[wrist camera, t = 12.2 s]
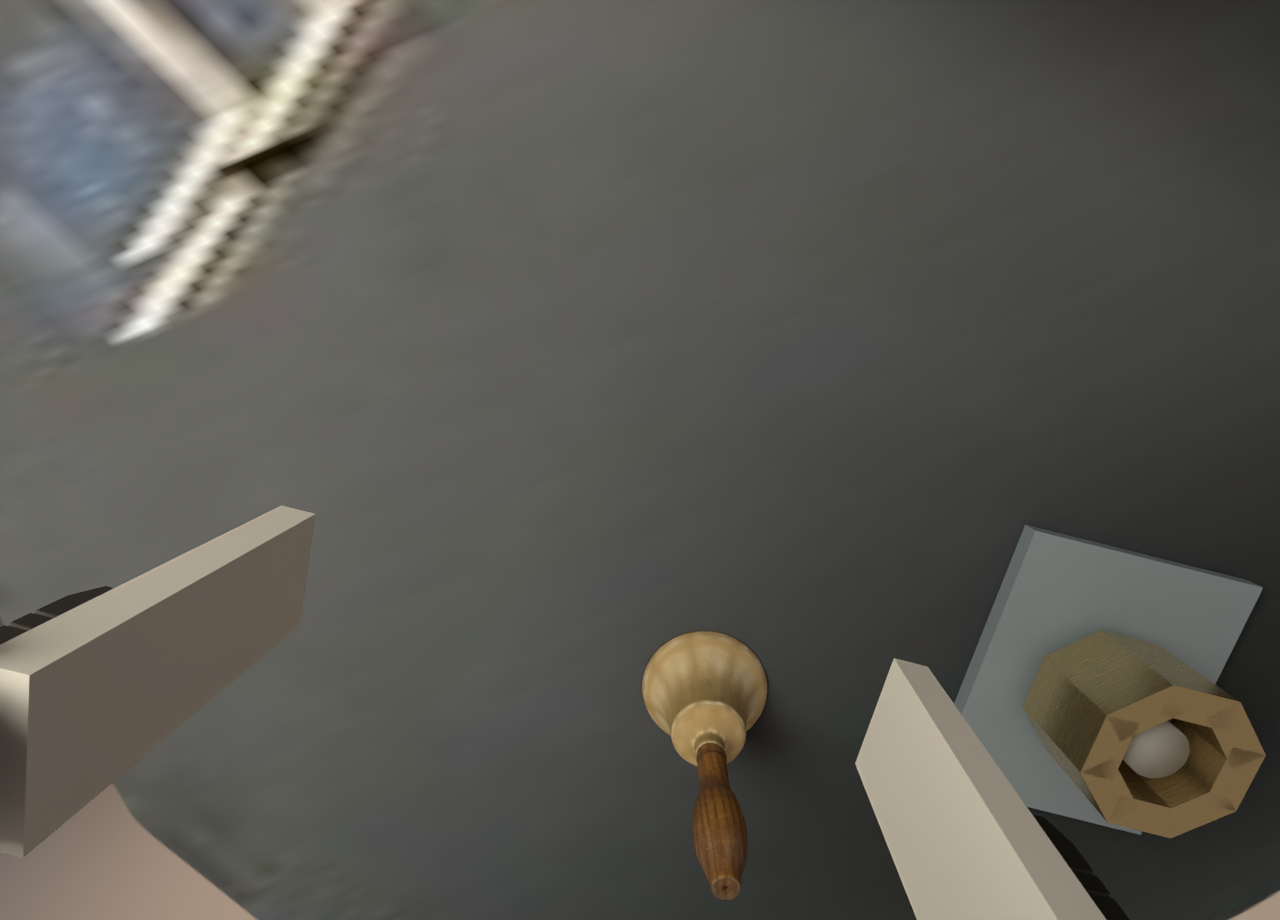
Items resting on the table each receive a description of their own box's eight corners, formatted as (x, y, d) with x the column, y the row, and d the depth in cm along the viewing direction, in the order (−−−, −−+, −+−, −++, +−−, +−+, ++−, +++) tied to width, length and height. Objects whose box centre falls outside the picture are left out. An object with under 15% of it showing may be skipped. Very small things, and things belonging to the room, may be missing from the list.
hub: (1059, 619, 40) (1126, 673, 34) (1197, 654, 40) (1287, 713, 34) (1008, 741, 42) (1062, 811, 36) (1139, 773, 42) (1215, 849, 36)
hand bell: (712, 606, 43) (732, 772, 28) (792, 695, 44) (856, 904, 29) (617, 679, 45) (585, 877, 29) (696, 764, 46) (707, 997, 30)
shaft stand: (1025, 524, 41) (1097, 568, 34) (1246, 579, 41) (1364, 635, 34) (927, 771, 45) (973, 856, 38) (1128, 821, 45) (1212, 916, 38)
